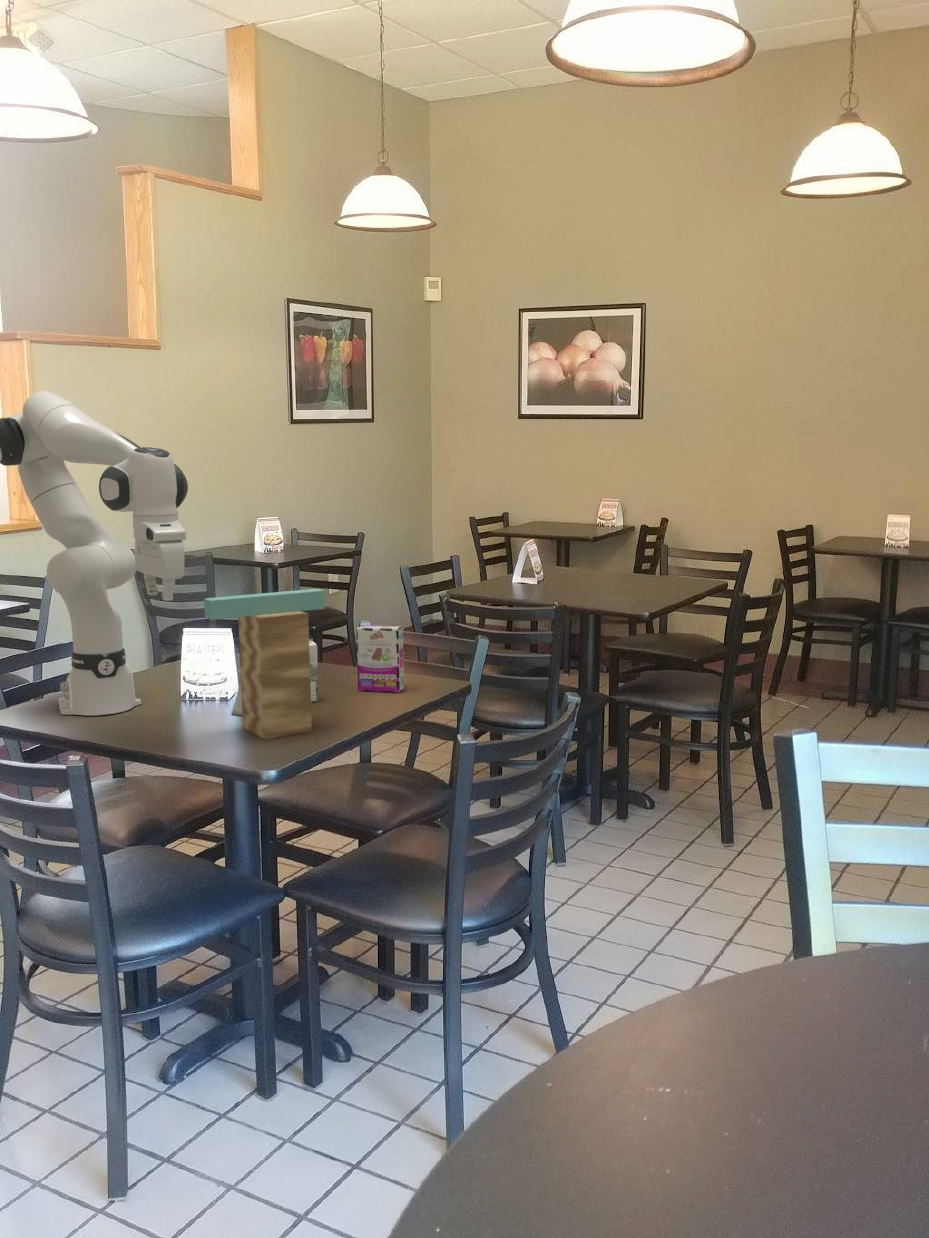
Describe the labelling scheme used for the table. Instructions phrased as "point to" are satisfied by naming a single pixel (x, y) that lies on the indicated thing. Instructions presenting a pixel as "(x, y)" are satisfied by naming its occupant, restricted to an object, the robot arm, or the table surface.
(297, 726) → the oak stand
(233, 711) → the flask
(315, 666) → the syrup box
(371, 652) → the candy bar box
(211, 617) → the teal block
